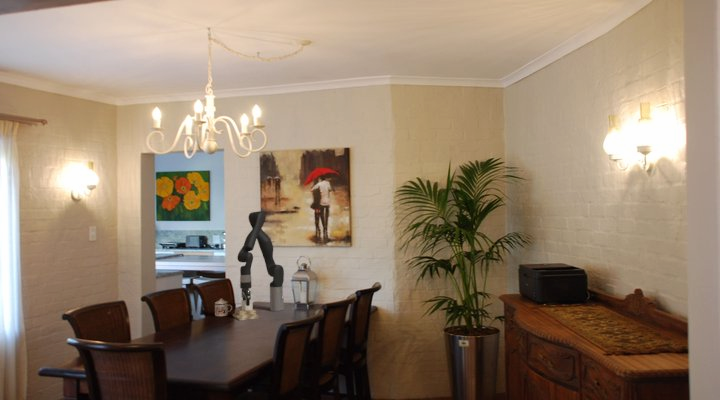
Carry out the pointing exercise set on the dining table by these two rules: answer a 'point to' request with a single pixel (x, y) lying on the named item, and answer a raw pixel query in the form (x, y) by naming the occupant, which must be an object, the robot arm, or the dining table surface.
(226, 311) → the teacup with lid
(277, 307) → the robot arm
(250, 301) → the tile
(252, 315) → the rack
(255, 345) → the dining table surface
